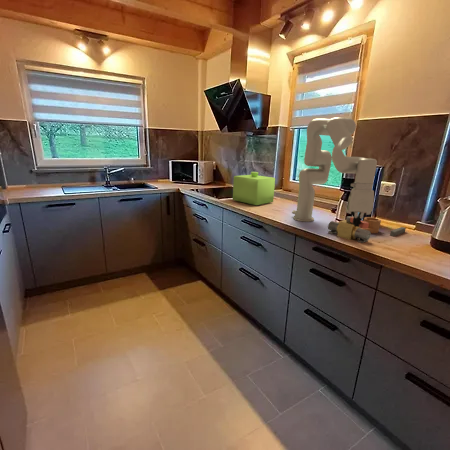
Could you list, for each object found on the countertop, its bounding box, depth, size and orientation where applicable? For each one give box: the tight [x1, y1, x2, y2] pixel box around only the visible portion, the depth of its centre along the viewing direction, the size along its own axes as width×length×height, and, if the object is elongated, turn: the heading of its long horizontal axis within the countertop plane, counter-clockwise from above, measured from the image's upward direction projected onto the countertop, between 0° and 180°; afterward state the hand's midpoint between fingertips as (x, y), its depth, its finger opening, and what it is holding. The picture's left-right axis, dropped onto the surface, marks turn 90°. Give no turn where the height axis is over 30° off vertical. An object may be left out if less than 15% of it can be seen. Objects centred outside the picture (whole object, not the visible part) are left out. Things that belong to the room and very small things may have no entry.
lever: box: [345, 216, 369, 229], centre depth 132 cm, size 14×4×3 cm, turn 8°
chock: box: [389, 226, 407, 237], centre depth 148 cm, size 2×14×2 cm, turn 127°
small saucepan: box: [360, 216, 382, 234], centre depth 150 cm, size 18×8×7 cm, turn 105°
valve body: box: [327, 219, 372, 244], centre depth 139 cm, size 20×7×8 cm, turn 37°
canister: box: [232, 171, 276, 206], centre depth 218 cm, size 25×21×23 cm
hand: (355, 225), depth 128 cm, fingers closed
